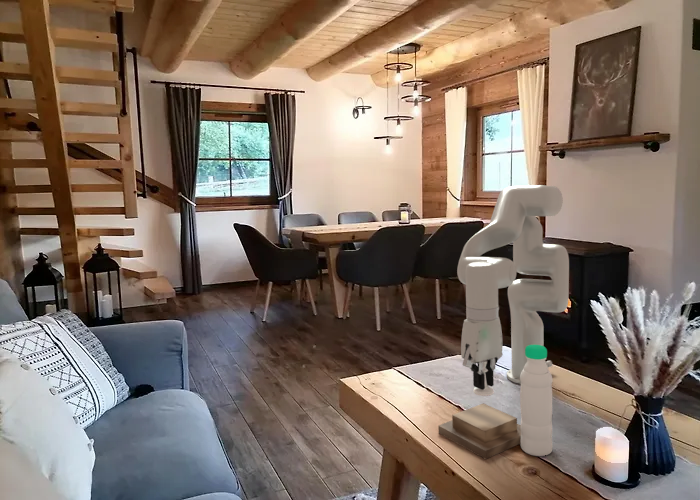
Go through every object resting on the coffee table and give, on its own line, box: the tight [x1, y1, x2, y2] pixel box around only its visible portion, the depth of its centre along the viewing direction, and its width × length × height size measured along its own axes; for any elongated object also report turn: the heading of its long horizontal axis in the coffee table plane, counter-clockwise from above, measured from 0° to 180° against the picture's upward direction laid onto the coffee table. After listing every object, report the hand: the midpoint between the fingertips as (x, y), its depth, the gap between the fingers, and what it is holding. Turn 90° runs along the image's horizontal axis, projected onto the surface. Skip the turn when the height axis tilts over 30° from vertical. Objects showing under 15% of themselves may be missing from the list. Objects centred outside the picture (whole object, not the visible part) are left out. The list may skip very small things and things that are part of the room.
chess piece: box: [472, 360, 495, 397], centre depth 130 cm, size 5×5×10 cm
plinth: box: [437, 403, 521, 460], centre depth 132 cm, size 16×16×5 cm
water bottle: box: [519, 345, 553, 457], centre depth 123 cm, size 7×7×25 cm
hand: (483, 385), depth 131 cm, fingers closed on chess piece
